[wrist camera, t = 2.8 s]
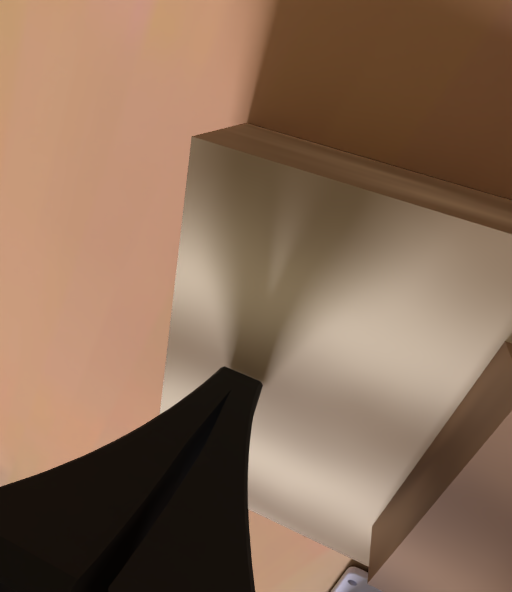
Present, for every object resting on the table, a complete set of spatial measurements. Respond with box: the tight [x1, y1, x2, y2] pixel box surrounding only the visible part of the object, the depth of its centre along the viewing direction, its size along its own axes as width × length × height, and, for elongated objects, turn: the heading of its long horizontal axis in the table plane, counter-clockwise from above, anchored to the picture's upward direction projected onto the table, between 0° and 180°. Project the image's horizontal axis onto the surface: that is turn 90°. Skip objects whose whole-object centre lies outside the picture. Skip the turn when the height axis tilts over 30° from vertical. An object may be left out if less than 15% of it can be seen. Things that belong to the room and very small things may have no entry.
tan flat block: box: [160, 123, 512, 567], centre depth 14 cm, size 14×20×4 cm
